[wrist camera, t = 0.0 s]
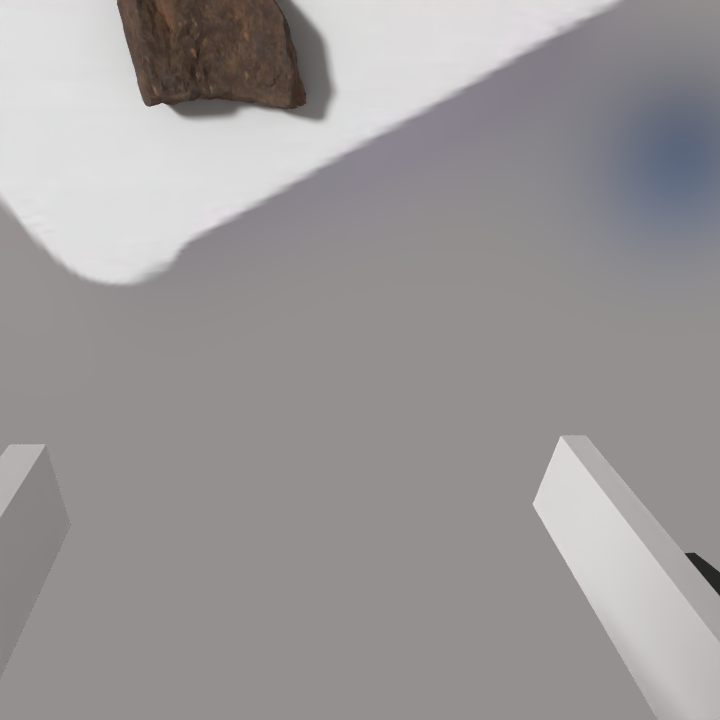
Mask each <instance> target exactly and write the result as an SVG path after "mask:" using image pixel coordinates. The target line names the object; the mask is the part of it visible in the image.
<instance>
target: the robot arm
mask: <svg viewBox="0 0 720 720" xmlns="http://www.w3.org/2000/svg"><path fill="white" fill-rule="evenodd" d="M533 506H534V508H535V509H536V511H537V513H538V515H539V516H540V518H541V519H542V521H543V523H544V525H545V527H546V528H547V530H548V531H549V533H550V535H551V537H552V539H553V540H554V542H555V544H556V546H557V547H558V549H559V551H560V552H561V554H562V556H563V557H564V559H565V561H566V563H567V564H568V566H569V568H570V569H571V571H572V573H573V575H574V577H575V578H576V580H577V582H578V583H579V585H580V587H581V588H582V590H583V592H584V594H585V595H586V597H587V599H588V601H589V602H590V604H591V606H592V608H593V609H594V611H595V612H596V614H597V616H598V618H599V620H600V621H601V623H602V625H603V626H604V628H605V630H606V632H607V633H608V635H609V637H610V639H611V640H612V642H613V644H614V645H615V647H616V649H617V651H618V652H619V654H620V656H621V657H622V659H623V661H624V663H625V664H626V666H627V668H628V669H629V671H630V673H631V675H632V676H633V678H634V680H635V682H636V683H637V685H638V687H639V688H640V690H641V692H642V694H643V695H644V697H645V699H646V701H647V702H648V704H649V706H650V707H651V709H652V711H653V712H654V714H655V716H656V718H657V719H658V720H720V572H719V571H717V570H716V569H715V568H713V567H712V566H711V565H710V564H708V563H707V562H706V561H705V560H703V559H702V558H701V557H699V556H698V555H697V554H695V553H685V554H684V553H683V552H682V551H681V549H680V548H679V547H678V546H677V544H676V543H675V542H674V541H673V540H672V538H671V537H670V536H669V535H668V534H667V532H666V531H665V530H664V529H663V528H662V527H661V525H660V524H659V523H658V522H657V520H656V519H655V518H654V517H653V516H652V514H651V513H650V512H649V511H648V510H647V508H646V507H645V506H644V505H643V504H642V503H641V501H640V500H639V499H638V498H637V496H636V495H635V494H634V493H633V492H632V490H631V489H630V488H629V487H628V486H627V485H626V483H625V482H624V481H623V480H622V479H621V477H620V476H619V475H618V474H617V473H616V472H615V470H614V469H613V468H612V467H611V465H610V464H609V463H608V462H607V461H606V459H605V458H604V457H603V456H602V455H601V454H600V452H599V451H598V450H597V449H596V447H595V446H594V445H593V444H592V443H591V441H590V440H589V439H588V438H587V437H586V436H585V435H574V436H561V437H560V439H559V442H558V444H557V446H556V449H555V451H554V454H553V456H552V459H551V461H550V463H549V466H548V468H547V471H546V473H545V476H544V478H543V481H542V483H541V485H540V488H539V490H538V493H537V495H536V498H535V500H534V503H533ZM70 526H71V523H70V520H69V517H68V514H67V511H66V507H65V504H64V501H63V498H62V494H61V491H60V488H59V485H58V481H57V478H56V475H55V472H54V469H53V465H52V462H51V459H50V455H49V452H48V449H47V446H46V444H33V445H9V446H8V447H7V449H6V450H5V452H4V453H3V454H2V456H1V457H0V678H1V676H2V674H3V672H4V669H5V667H6V665H7V663H8V661H9V659H10V656H11V654H12V652H13V650H14V648H15V645H16V643H17V641H18V639H19V637H20V635H21V632H22V630H23V628H24V626H25V624H26V621H27V619H28V617H29V615H30V613H31V611H32V608H33V606H34V604H35V602H36V600H37V597H38V595H39V593H40V591H41V589H42V587H43V584H44V582H45V580H46V578H47V576H48V573H49V571H50V569H51V567H52V565H53V563H54V560H55V558H56V556H57V554H58V552H59V550H60V548H61V545H62V543H63V541H64V539H65V537H66V534H67V532H68V530H69V528H70Z"/></svg>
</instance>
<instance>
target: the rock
mask: <svg viewBox="0 0 720 720" xmlns="http://www.w3.org/2000/svg"><path fill="white" fill-rule="evenodd" d="M117 5H118V9H119V12H120V16H121V19H122V23H123V29H124V33H125V37H126V41H127V44H128V48H129V51H130V55H131V58H132V61H133V65H134V68H135V72H136V76H137V80H138V81H137V83H138V86H139V89H140V93H141V96H142V99H143V101H144V104H145V105H146V106H149V107H150V106H154V105H158V104H160V103H164V104H167V105H175V104H177V103H179V102H183V101H194V100H196V99H197V98H201V99H210V100H211V99H215V98H217V99H228V100H233V101H244V102H248V103H254V102H259V103H261V104H263V105H266V106H270V107H278V108H282V109H288V108H290V109H293V108H296V107H297V106H302V105H304V104H306V101H305V100H306V93H305V90H304V87H303V84H302V81H301V80H300V78H299V74H298V68H297V56H296V50H295V48H294V46H293V43H292V41H291V36H290V29H289V26H288V24H287V21H286V19H285V17H284V15H283V13H282V11H281V9H280V8H279V6H278V4H277V3H276V2H275V0H117Z"/></svg>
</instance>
